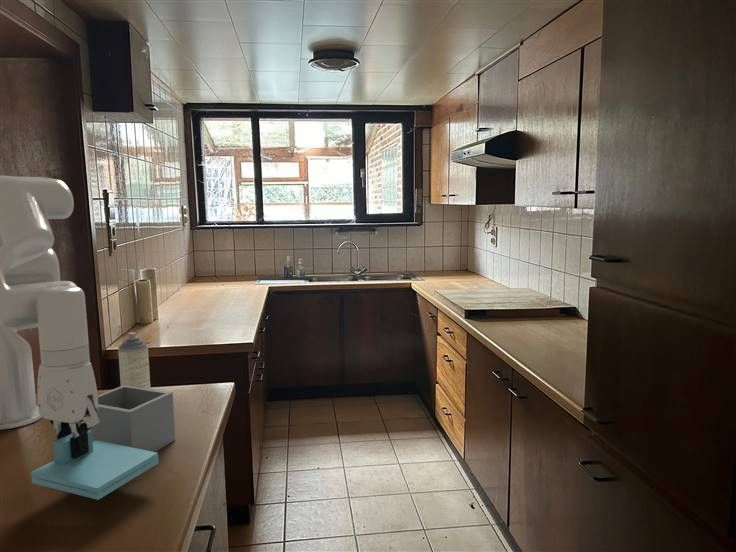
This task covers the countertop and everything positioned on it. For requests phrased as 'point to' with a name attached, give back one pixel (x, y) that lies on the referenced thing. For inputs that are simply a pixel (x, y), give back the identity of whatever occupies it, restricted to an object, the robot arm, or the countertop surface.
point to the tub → (135, 418)
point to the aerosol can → (134, 362)
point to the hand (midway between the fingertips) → (73, 453)
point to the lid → (93, 467)
